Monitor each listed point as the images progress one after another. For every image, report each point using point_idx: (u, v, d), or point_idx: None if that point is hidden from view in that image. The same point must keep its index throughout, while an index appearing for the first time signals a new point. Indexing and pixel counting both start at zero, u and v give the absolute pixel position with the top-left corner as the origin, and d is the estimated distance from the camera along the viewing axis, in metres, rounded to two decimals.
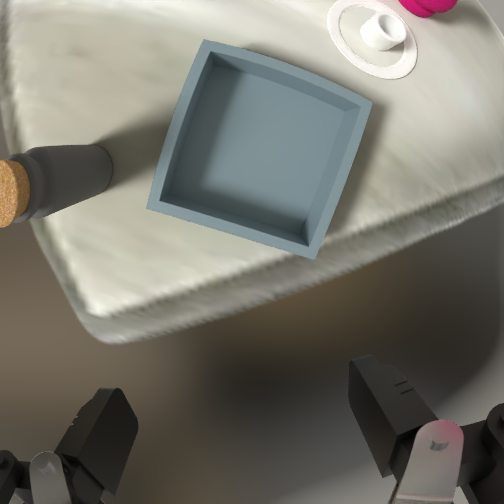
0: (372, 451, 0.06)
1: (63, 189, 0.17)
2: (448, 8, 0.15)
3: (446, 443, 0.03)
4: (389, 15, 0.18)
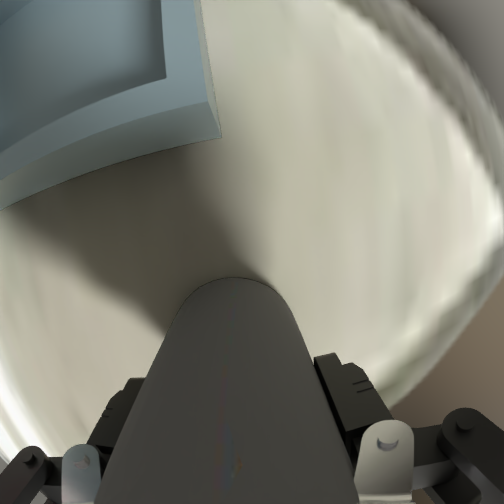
0: None
1: (186, 473, 0.03)
2: None
3: (395, 443, 0.04)
4: None
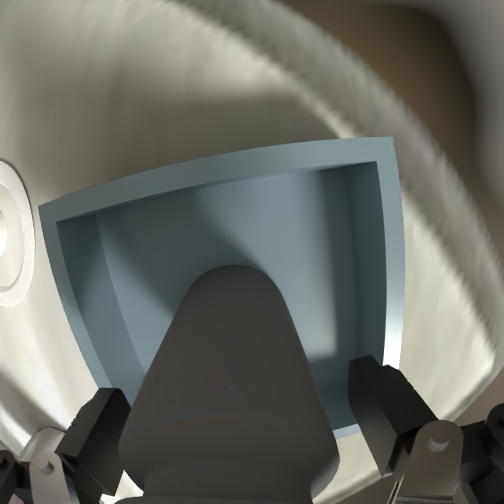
0: (372, 451, 0.06)
1: (199, 388, 0.05)
2: None
3: (446, 443, 0.03)
4: None
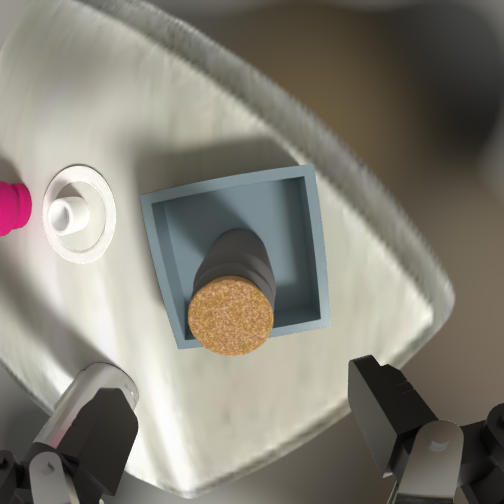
0: (372, 451, 0.06)
1: (227, 248, 0.19)
2: (0, 185, 0.22)
3: (446, 443, 0.03)
4: (50, 223, 0.25)
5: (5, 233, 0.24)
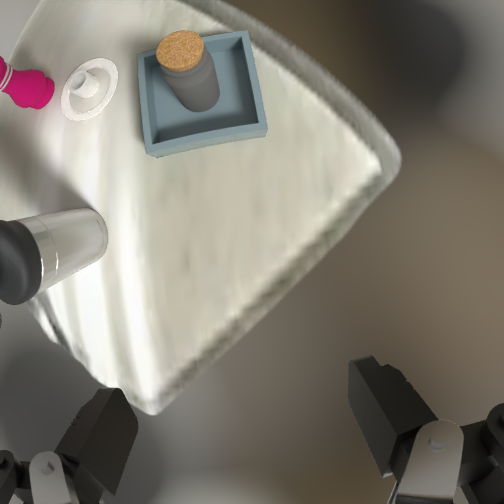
0: (372, 451, 0.06)
1: None
2: (36, 70, 0.28)
3: (446, 443, 0.03)
4: (70, 86, 0.31)
5: (31, 101, 0.30)
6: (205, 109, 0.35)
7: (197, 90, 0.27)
